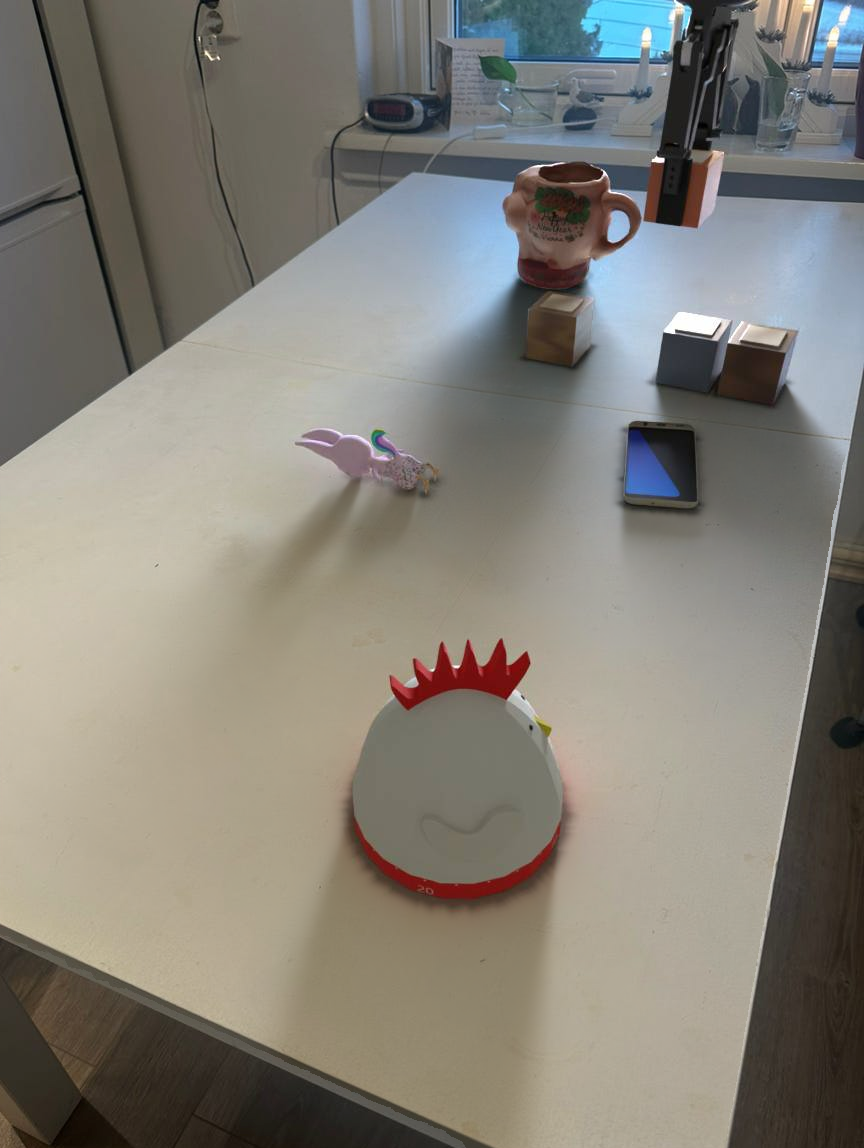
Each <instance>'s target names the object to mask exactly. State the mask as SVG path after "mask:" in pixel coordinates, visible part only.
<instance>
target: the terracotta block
mask: <svg viewBox="0 0 864 1148" xmlns="http://www.w3.org/2000/svg"><path fill="white" fill-rule="evenodd" d="M725 153H726V152H725V151H720V150H719V151H718V150H699V149H692V150H691V156H690V158H693V162H692V168H691V174H690V180H689V186H688V192H687V198H686V204H685V210H684V216H683V222H682V225H681V226H680V227H682V228H683V227H684V228H691V229H699V227H701V225H703V223H705V221H706V220H707V219H708V218H709V217H710V216H711V215H712V213H714V211H715V206H716V201H717V197H718V191H719V186H720V181H721V174H722V169H723V165H724V158H725ZM664 161H665V158H657V156H656V157H655V158H654V159H652V161H651V162H650V168H649V175H648V176H649V177H648V183H647V184H648V185H647V190H646V198H645V206H644V212H643V220H642V222H644V223H645V222H646V223H654V224H656V223H655V222H656V215H657V208H658V201H659V195H660V188H661V181H662V174H663V167H664Z"/></svg>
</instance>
